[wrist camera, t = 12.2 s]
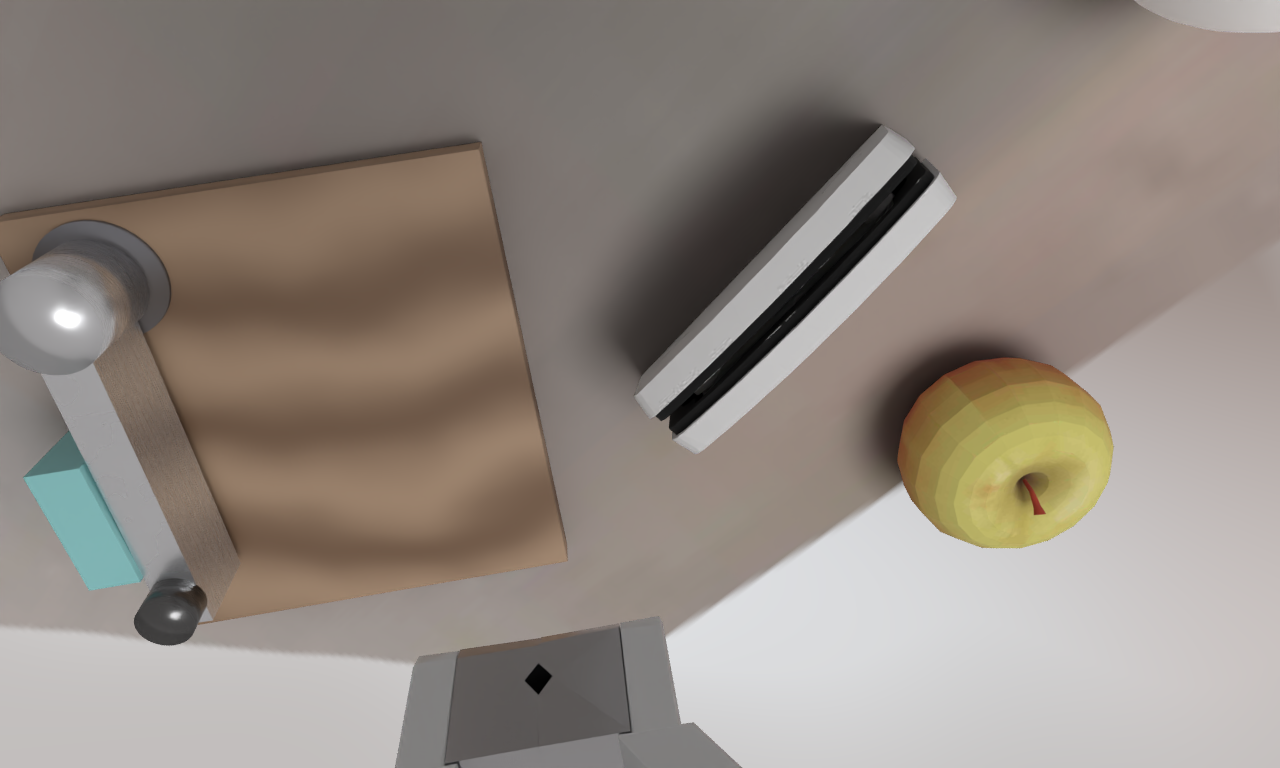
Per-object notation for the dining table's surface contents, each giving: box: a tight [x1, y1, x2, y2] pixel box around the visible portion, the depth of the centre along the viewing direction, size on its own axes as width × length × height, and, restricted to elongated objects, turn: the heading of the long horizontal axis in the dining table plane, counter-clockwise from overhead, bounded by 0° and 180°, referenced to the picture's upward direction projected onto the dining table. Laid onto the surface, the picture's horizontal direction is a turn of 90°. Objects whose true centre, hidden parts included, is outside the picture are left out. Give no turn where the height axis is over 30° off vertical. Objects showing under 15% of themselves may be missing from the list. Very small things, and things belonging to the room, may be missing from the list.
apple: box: [897, 357, 1113, 548], centre depth 41 cm, size 10×10×8 cm
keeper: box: [23, 431, 143, 591], centre depth 37 cm, size 6×2×5 cm, turn 7°
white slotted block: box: [634, 124, 957, 454], centre depth 36 cm, size 17×5×10 cm, turn 138°
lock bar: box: [0, 239, 240, 645], centre depth 35 cm, size 17×4×6 cm, turn 6°
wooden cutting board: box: [0, 142, 568, 625], centre depth 39 cm, size 22×20×2 cm
